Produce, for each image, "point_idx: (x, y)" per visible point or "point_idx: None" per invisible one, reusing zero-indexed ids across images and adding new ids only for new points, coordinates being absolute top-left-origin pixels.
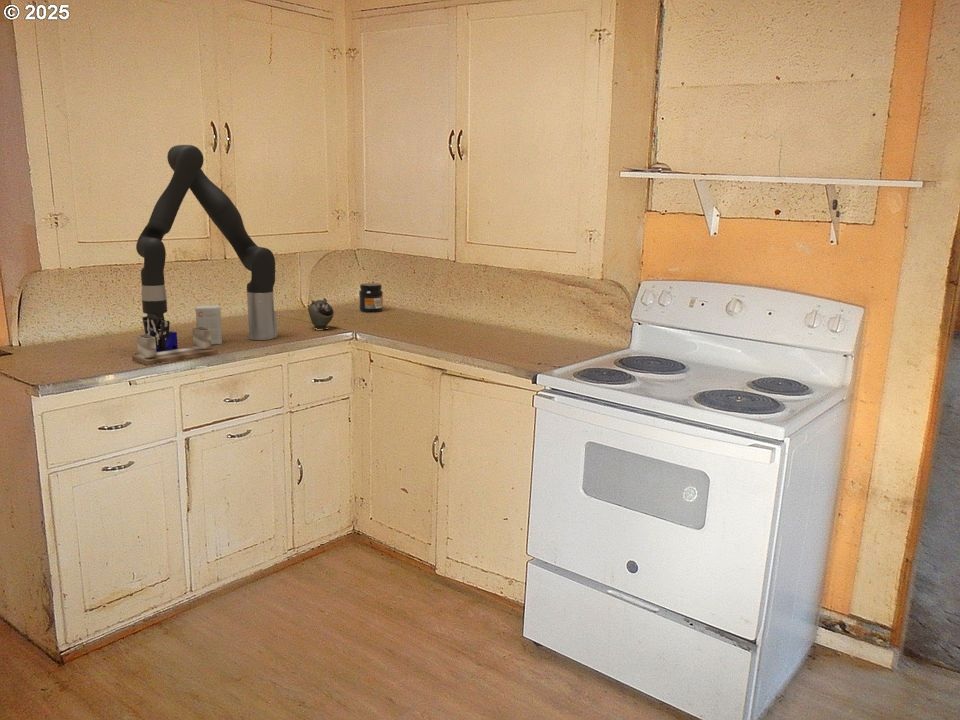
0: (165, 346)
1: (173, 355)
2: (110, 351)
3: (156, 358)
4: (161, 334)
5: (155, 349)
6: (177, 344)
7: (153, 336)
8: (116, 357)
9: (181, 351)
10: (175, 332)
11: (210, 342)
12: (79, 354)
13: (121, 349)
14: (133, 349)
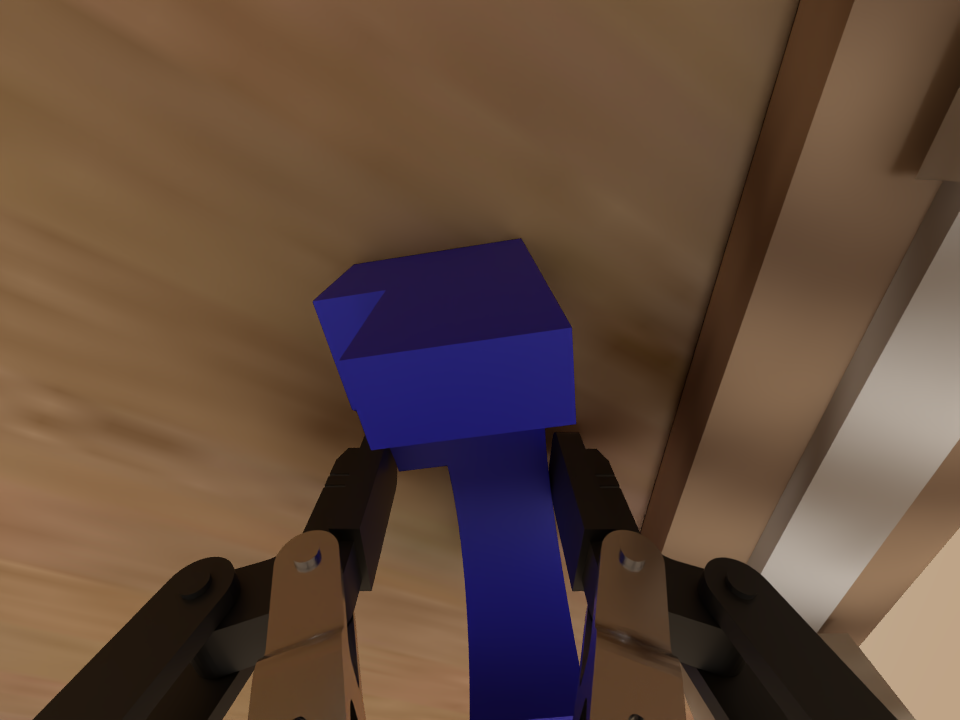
0: (585, 451)
1: (910, 522)
2: None
3: (843, 622)
4: (747, 701)
5: (899, 706)
6: (529, 254)
7: (354, 565)
8: (447, 649)
9: (946, 451)
10: (570, 361)
11: None
12: (232, 712)
13: (184, 563)
14: (231, 515)
